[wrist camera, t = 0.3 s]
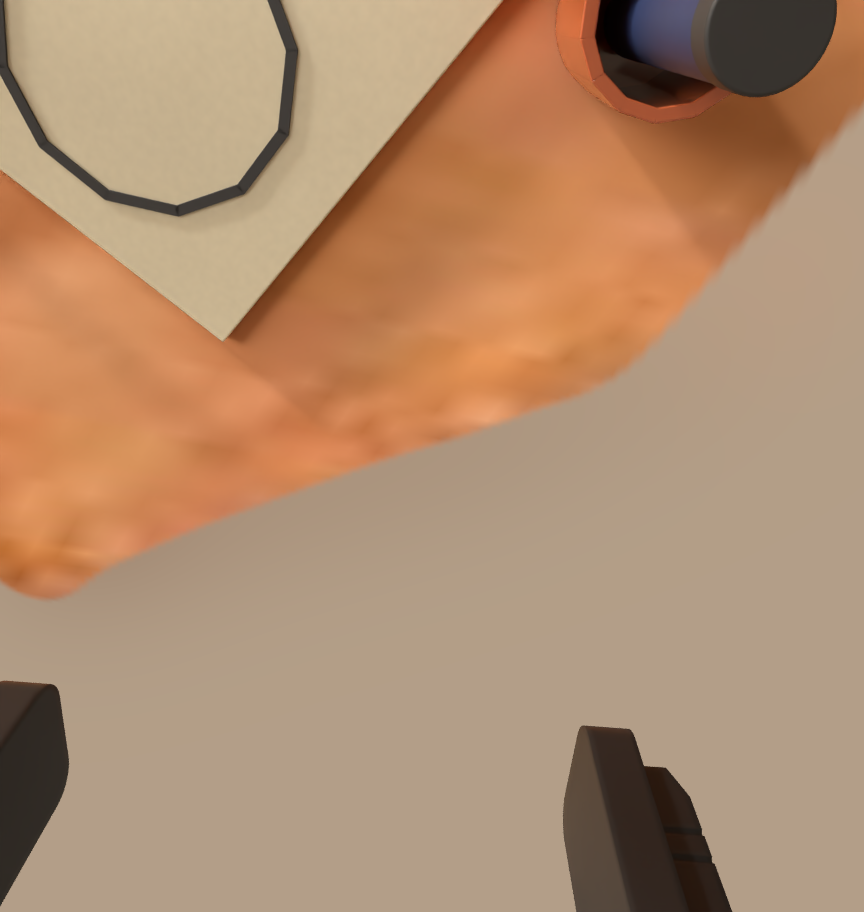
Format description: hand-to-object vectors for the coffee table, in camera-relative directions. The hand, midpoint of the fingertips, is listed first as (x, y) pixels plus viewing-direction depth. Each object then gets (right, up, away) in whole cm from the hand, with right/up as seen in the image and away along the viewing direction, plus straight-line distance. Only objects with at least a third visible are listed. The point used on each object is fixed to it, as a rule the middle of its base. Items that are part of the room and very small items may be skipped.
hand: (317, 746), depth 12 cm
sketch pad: (-6, +19, +15) cm, 25 cm away
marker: (+8, +19, +13) cm, 25 cm away
